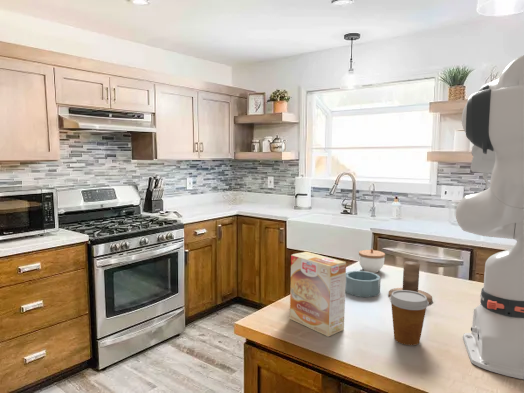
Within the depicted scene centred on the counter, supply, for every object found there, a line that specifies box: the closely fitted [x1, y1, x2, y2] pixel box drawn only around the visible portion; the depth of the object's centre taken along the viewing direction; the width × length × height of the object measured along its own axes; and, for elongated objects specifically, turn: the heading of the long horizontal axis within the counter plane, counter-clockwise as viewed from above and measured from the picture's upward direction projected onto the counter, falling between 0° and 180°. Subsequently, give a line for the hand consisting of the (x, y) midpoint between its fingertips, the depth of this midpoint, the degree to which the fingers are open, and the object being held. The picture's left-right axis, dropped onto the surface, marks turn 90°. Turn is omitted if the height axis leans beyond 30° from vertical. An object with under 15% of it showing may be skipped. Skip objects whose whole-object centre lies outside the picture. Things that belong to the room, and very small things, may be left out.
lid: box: [388, 260, 433, 305], centre depth 131 cm, size 14×14×12 cm
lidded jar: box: [358, 248, 386, 274], centre depth 163 cm, size 11×11×9 cm
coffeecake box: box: [289, 251, 347, 337], centre depth 109 cm, size 15×7×20 cm, turn 40°
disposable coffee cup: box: [389, 290, 430, 346], centre depth 101 cm, size 10×10×12 cm
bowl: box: [345, 270, 382, 298], centre depth 138 cm, size 12×12×6 cm
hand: (506, 190), depth 115 cm, fingers open, 8 cm apart
